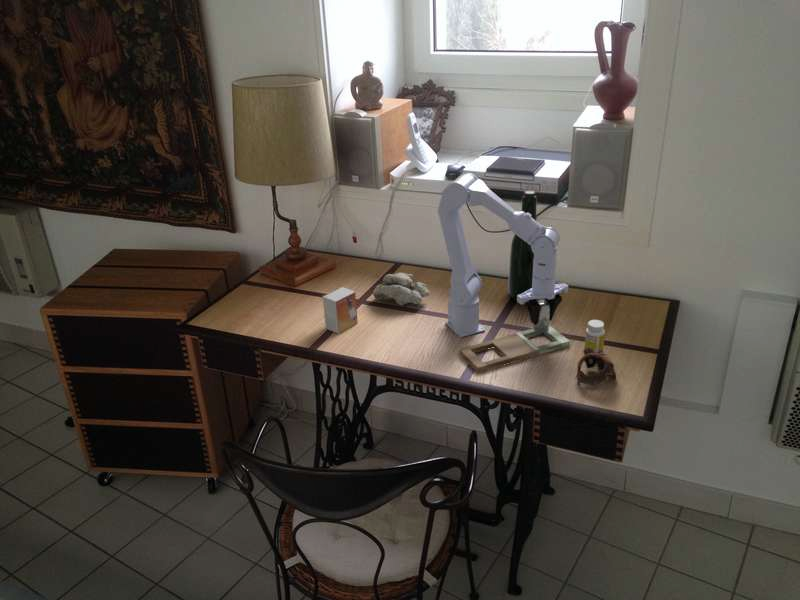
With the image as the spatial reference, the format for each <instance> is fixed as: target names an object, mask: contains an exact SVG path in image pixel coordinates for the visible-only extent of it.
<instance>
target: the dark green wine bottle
mask: <svg viewBox="0 0 800 600" xmlns="http://www.w3.org/2000/svg"><path fill="white" fill-rule="evenodd" d="M537 204H538V197H537V193H536V191H535V190H524V191H523V195H522V196H521V211H524V212H525V213H526V214H527V213H530V214H531V215H532V216H531V217H532V218H533V219H534V220H536V221H537V222H538V219H537V218H538V217H537V206H538V205H537ZM509 250H510V251H509V262H508V283H507V292H508V293H507V294H508V295H509V296H510V297H511V298H513V299H515V300H517V295H520V294H522V293H524V292H526V291H528V290H529V289H531V288H532V279H533V259H534V253H533V251H532V249H531V245H529V244H528V242H525V241H524V240H523V239H521V238H520V237H519V236H517V235H516V234H515V233H514V234H513V237H512V240H511V243H510V249H509Z"/></svg>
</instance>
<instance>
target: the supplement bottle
mask: <svg viewBox="0 0 800 600" xmlns="http://www.w3.org/2000/svg"><path fill="white" fill-rule="evenodd" d="M604 328H605V323H604V322H603V321H602V320H599V319H591V320H589V321H588V323H587V328H586V329H585V338H584V349H585V348H588V347H589V348H591V349H592V350H593V351H594V353H598V354H600V355H602V354H603V352H604V344H605V343H604V342H605V335H606V331H605V329H604ZM584 349H583V350H584Z"/></svg>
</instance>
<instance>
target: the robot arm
mask: <svg viewBox="0 0 800 600" xmlns="http://www.w3.org/2000/svg"><path fill="white" fill-rule="evenodd" d="M467 202H468V204H467V206H468V207H477V206H481V207H484V208H485V209H487V210H488V211H490V212H491V213H493V214H495V215H496V216H498V217H499V218H500V219H501V220H503V221H505V222H506V223H507V224H508V225H507V226H508V229H509V231H511V232H512V233H513V234H514V235H515V234H516V235H517V236H519V237H520V238H521V239H523V240H524V241H525V242H528V244H529V245H531V249H532V251H533V253H534V259H533V279H532V288H531V289H529V290H528V291H526V292H524V293H522V294H520V295H517V299H516V302H517V303H518V304H520V305H525V307H526V309H527V311H528V315H529V319H530V322H531V324H533V326H534V325H537V323H538V315H539V310H540V308H541V306H542V305H540V304H539V303H538V301H537V300H547V301H549V302H550V319H549V322H551V321H552V320H553V318H554V315H555V313H556V310H557V309H558V306H559V305H560V304H561V302H563V297H562V296H561V293H564V294H567V293H569V285H568V284H566V283H556V269H557V248H558V246H559V244H560V241H561V239H560V238H561V237H560V235H559V233H558V231H557V230H555V228H554V227H550V226H545V225H542V224H541V223H540V222H538V220H537V221H536V220H534V219H533V218H532V217H531V216H532V215H531V214H530V213H527V214H526V213H525V212H524V211H516V210H515V209H514V208H512V207H511V206H510V205H509V204H508V203H506V202H505V201H504V200H503V199H501V198H500V197H499V196H498V195H497V194H496V193H495V192H493V191H492V190H491V188H489V187H488V186H487V185H486V183H485V182H484V181H483V180H482V179H481V178H480V179H479V178H477V176H476V175H475V174H473V173H471V172H463V173H461V174H459V176H458V177H457V178H456V179H454V181H452V182H450V183H449V184H448V185H447V186H446V187H445V188H444V189H443V190H442V191H441V198H440V201H439V204H438V208H437V213H438V216H439V217H438V218H439V221H440V226H441V230H442V233H443V238H444V242H445V247H446V250H447V255H448V260H449V264H450V267H451V277H450V281H449V285H450V290H449V297H450V298H449V300H448V301H447V320H446V321H445V322H444V323H445V325H447V327H449V328H450V329H451V330H452V331H453V332H454V333H455V334H456V335H457V336H458V337H459V338H465V337H467V336H471V335H474V334H479V333H482V332H485V331H486V329H485V328H484V327H483V326H482V325H481V324H480V297H479V292H480V291H481V289H482V288H483V281H482V278H481V277H480V276H479V274H478V272H477V269H476V267H474V266H472V262H471V259H470V254H469V251H468V245H467V241H466V236H465V233H464V229H463V224H462V219H461V214H460V211H461V209H462V207H463V206H464V205H465V204H466V203H467Z"/></svg>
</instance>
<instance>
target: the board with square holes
mask: <svg viewBox="0 0 800 600" xmlns="http://www.w3.org/2000/svg"><path fill="white" fill-rule="evenodd" d="M539 334H540V335H545V336H546V337H547V336H548V337H549V338H548V337H547V338H548V339H550V340H551V342H549V343H546V344H542V345H540V346H537V345H535V344H534V343H533V342H532V341H530V339H529V338H527V337H530V338H532V337H531V336H533V337H536V336H535V335H537V336H539ZM553 341H554V342H553ZM570 343H571V340H569V339H568V338H566V337H565V336H564V335H563V334H561V332H559V331H558V330H556V329H555V328H553V326H551V325H550V324H549V331H548V332H547V333H544V334H542V333H537V332H535V331H534V328H530V329H526V330H524V331H517V332H515V333H512V334H509V335H505V336H501V337H499V338H495V339H491V340H488V341H483V342H480V343H476V344H473V345H469V346H466V347H462V348H459V350H458V352H459V355H460V357H462V358H463V359H464V360H465V361H466V363H468V364H469V366H470V367H472V368H473V369H474V370H475V371H476V373H478V372H479V373H481V371H482V372H485V371H489V370H492V369H494V368H495V367H496V368H499V367H502V366H505V365H504V364H506V365H508V364H507V363H509V364H512V363H511V362H513V363H515V362H514V361H516V362H519V361H522V360H521V359H523V360H525V358H526V359H528V358H527V357H530V358H532V357H531V356H533V357H535V356H534V355H536V356H539V355H538V354H540V355H542V354H541V353H543V354H545V352H547V353H549V352H548V351H550V352H553V351H556V349H557V350H560V349H563V348H567V347H569V346H571V345H570ZM566 346H567V347H566ZM492 347H494V348H495V349H496V350H497V351H498V352H499V353H500V354H501V355H500V354H499V353H498V352H497V351H496V350H495V349H494V348H492ZM488 348H491V349H494V350H495V351H496V352H497V353H498V354H499V355H500V356H501V357H498V358H494V359H490V360H488V361H487V360H486V361H483V360H482V359H481V358H480V357H479V356H477V355H476V354H477V353H479V351H480V352H482V350H484V351H486V350H485V349H487V350H489V349H488ZM552 350H553V351H552ZM476 352H477V353H476ZM518 360H519V361H518ZM501 365H502V366H501ZM488 369H489V370H488Z"/></svg>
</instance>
